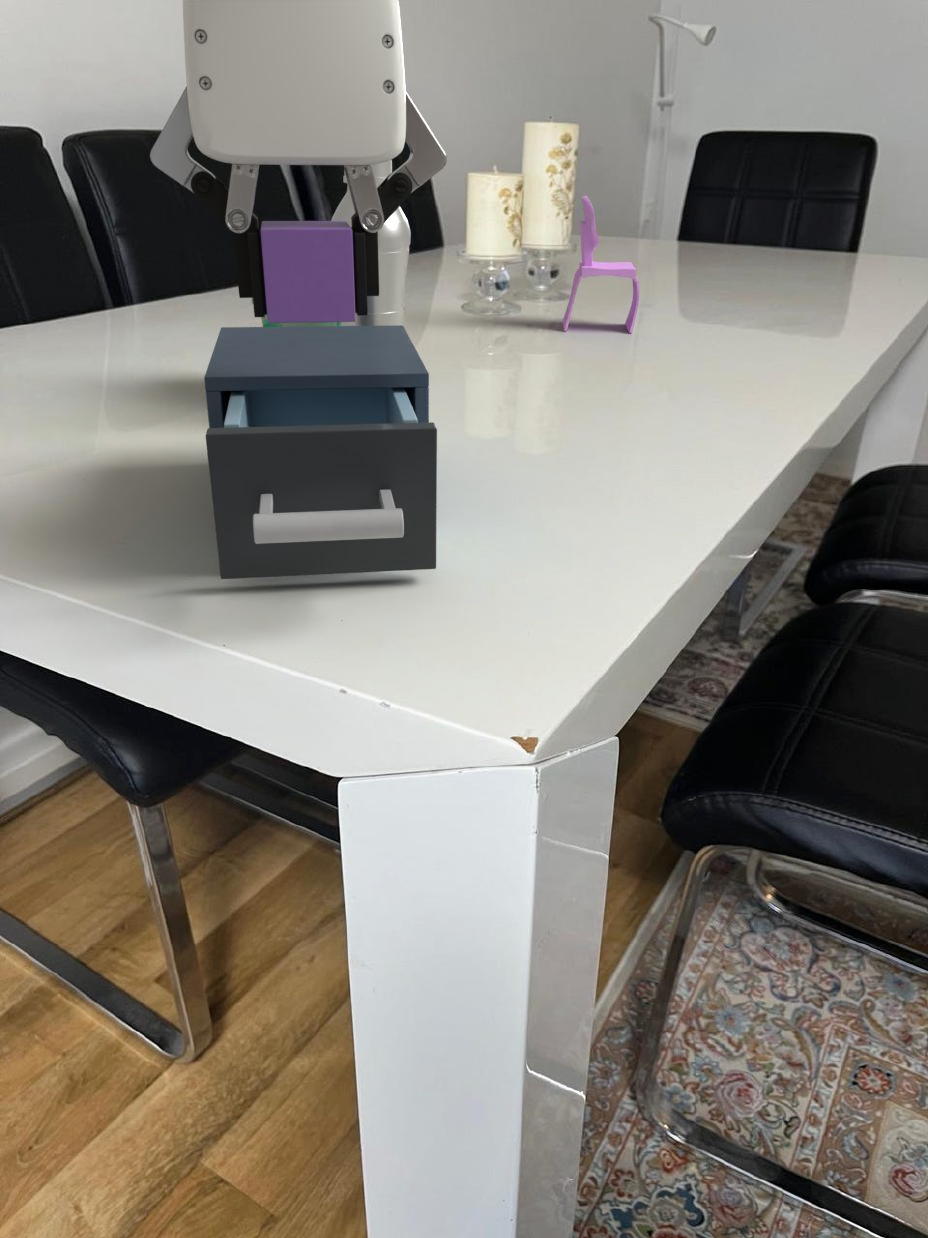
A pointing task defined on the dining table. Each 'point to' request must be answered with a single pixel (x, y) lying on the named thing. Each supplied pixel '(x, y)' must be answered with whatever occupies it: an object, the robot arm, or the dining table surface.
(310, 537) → the dark grey drawer
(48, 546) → the dining table surface
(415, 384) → the drawer cabinet
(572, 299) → the toy chair
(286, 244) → the purple cube
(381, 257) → the silver tall bottle
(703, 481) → the dining table surface
